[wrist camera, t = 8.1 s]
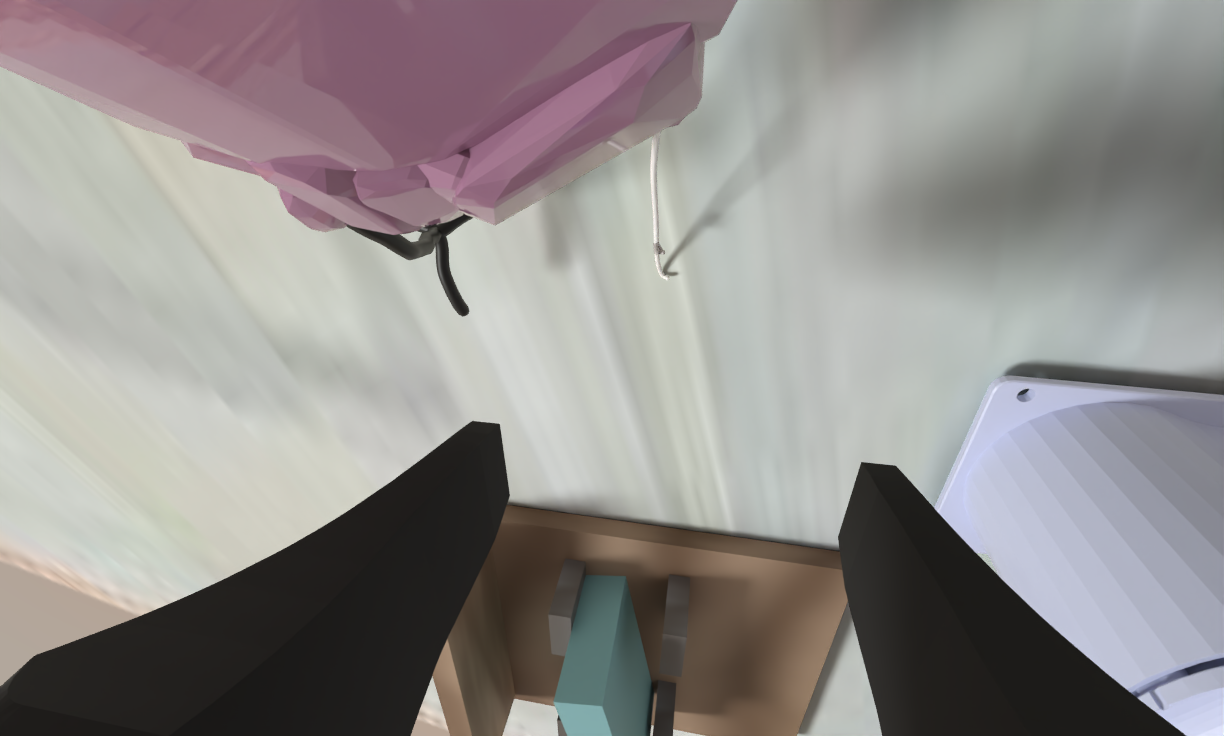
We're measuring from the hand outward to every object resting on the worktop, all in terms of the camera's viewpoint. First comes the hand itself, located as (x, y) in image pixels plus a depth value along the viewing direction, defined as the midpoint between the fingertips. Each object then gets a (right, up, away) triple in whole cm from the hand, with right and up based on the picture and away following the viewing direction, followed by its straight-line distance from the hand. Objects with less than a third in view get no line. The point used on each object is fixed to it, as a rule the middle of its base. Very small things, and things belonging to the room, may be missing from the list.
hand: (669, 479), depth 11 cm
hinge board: (+1, -12, +18) cm, 22 cm away
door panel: (-1, -12, +17) cm, 21 cm away
